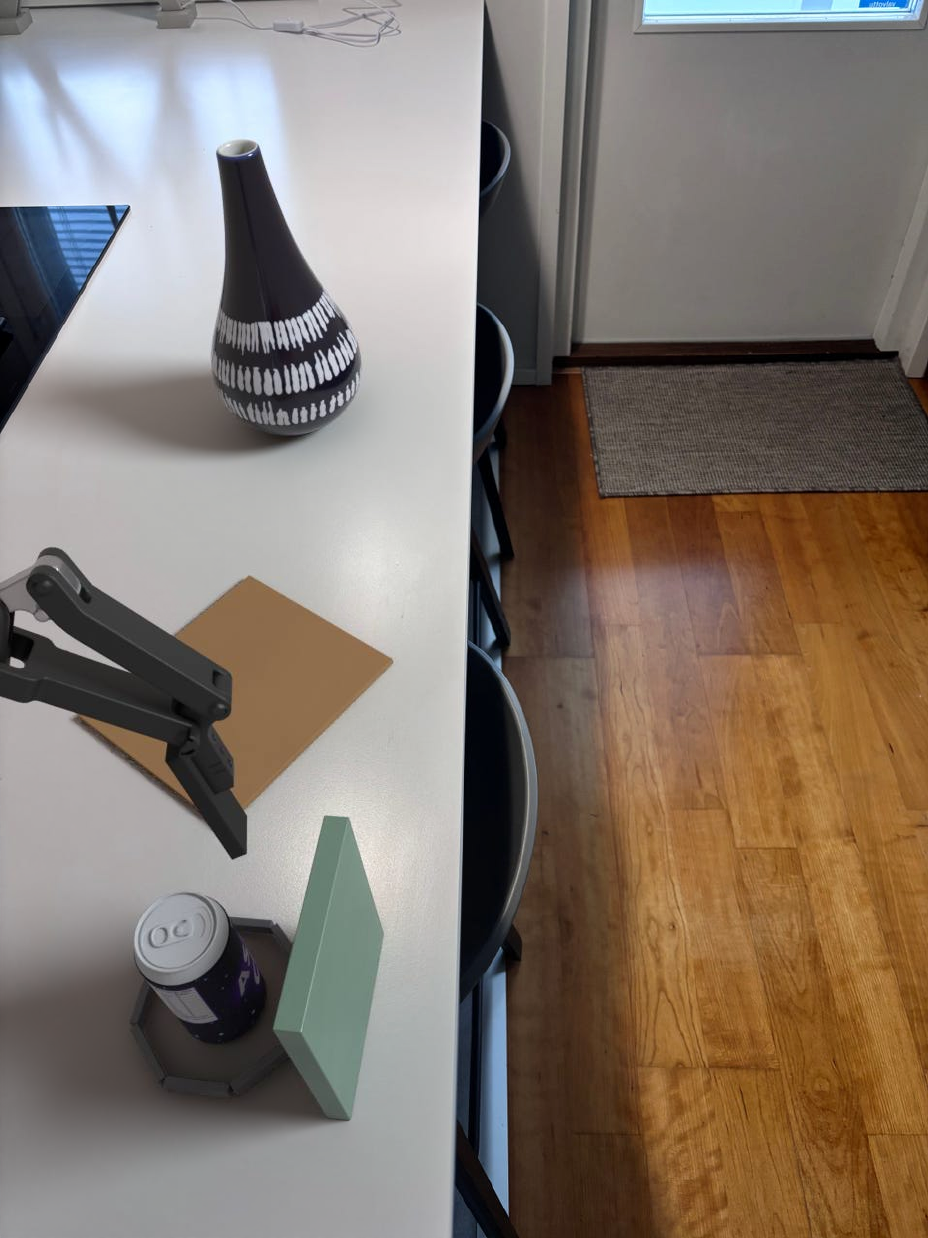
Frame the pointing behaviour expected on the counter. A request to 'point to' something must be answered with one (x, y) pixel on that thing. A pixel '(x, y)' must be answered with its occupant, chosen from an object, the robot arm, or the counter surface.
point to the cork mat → (265, 685)
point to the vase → (275, 314)
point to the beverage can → (200, 966)
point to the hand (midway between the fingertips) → (109, 890)
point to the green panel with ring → (310, 982)
